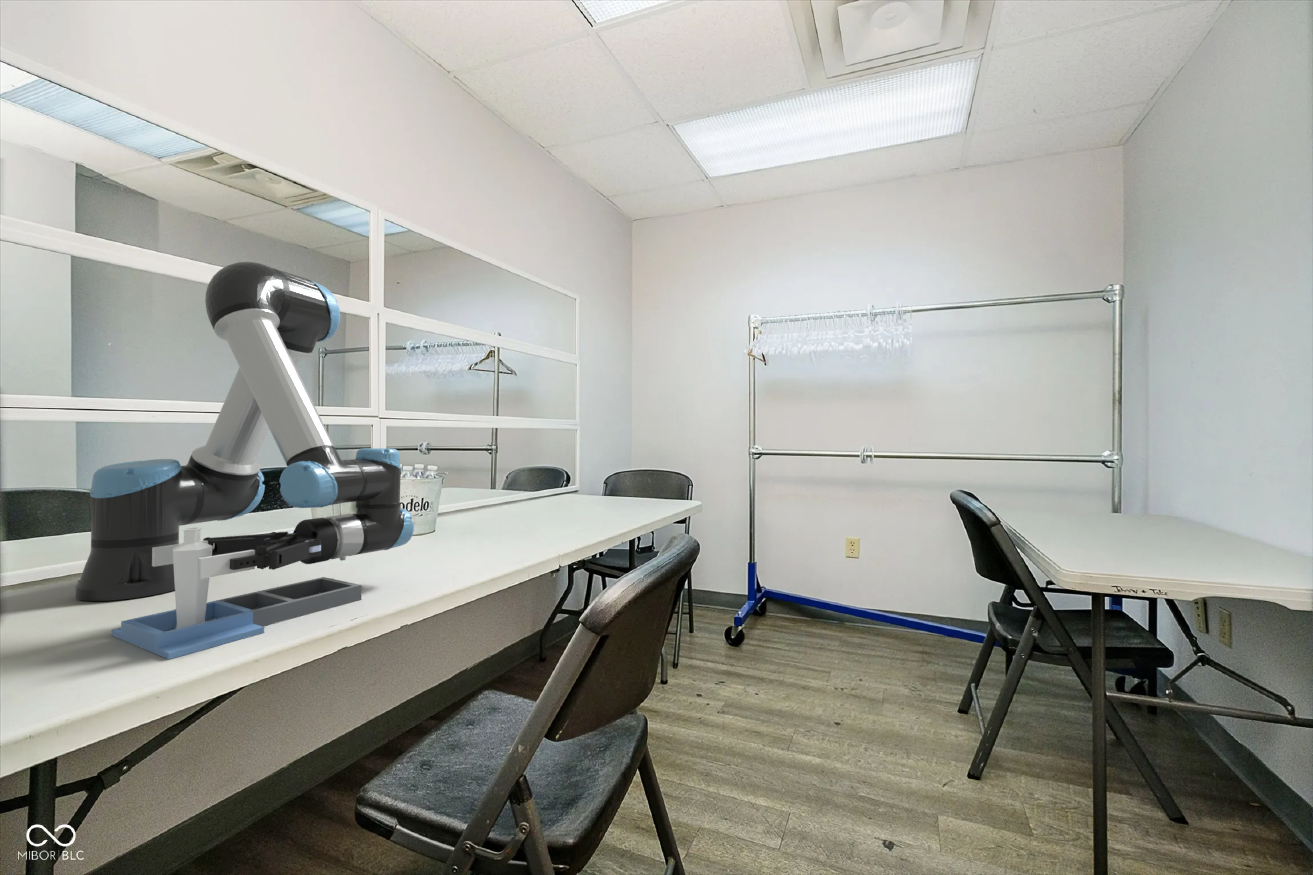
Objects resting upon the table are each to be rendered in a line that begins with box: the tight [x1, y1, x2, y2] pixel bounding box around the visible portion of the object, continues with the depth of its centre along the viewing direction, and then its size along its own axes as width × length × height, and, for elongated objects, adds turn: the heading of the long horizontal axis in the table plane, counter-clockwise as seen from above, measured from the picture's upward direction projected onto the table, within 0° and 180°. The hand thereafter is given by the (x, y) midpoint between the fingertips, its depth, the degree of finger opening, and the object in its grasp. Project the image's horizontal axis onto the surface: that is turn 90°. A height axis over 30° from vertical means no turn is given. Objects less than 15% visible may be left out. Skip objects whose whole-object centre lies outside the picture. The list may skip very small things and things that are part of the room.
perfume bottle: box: [173, 527, 213, 629], centre depth 78 cm, size 5×4×15 cm
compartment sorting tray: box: [111, 576, 363, 660], centre depth 86 cm, size 28×17×2 cm, turn 152°
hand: (174, 562), depth 77 cm, fingers open, 13 cm apart
